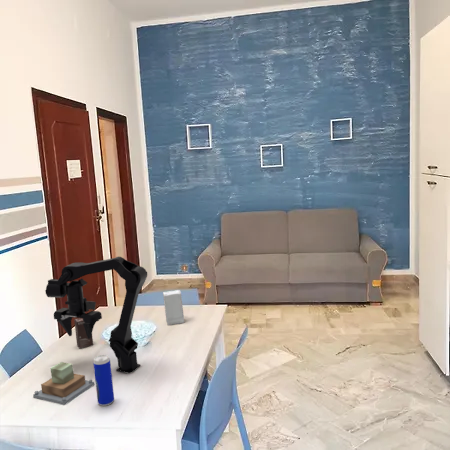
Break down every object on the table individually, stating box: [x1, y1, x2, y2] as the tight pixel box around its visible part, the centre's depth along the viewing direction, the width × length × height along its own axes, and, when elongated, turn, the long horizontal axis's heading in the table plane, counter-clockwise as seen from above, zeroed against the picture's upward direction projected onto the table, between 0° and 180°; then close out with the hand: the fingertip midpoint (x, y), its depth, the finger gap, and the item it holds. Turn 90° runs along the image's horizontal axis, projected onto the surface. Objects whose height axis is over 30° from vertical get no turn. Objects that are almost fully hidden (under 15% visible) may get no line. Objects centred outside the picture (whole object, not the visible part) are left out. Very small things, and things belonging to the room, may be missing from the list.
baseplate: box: [32, 379, 95, 406], centre depth 158 cm, size 14×14×2 cm
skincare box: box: [162, 289, 185, 326], centre depth 216 cm, size 8×6×15 cm
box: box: [73, 318, 94, 349], centre depth 195 cm, size 6×4×12 cm
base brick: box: [40, 373, 86, 397], centre depth 157 cm, size 10×10×3 cm
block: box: [50, 361, 75, 384], centre depth 157 cm, size 5×5×5 cm
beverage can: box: [93, 354, 115, 406], centre depth 147 cm, size 5×5×15 cm
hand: (79, 337), depth 174 cm, fingers open, 9 cm apart
